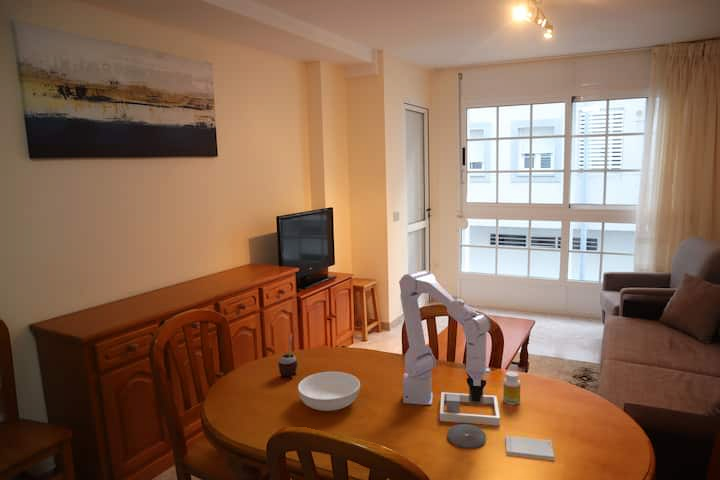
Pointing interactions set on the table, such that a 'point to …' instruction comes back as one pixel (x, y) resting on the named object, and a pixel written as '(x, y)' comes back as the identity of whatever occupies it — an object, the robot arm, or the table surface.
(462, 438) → the slate pad
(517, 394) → the supplement bottle
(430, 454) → the table surface
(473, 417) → the white rectangular frame
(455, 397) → the plain grey box
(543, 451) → the hard drive
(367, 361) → the table surface
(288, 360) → the mate gourd
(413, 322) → the robot arm
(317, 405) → the serving bowl
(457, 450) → the table surface
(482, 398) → the labelled walnut box
